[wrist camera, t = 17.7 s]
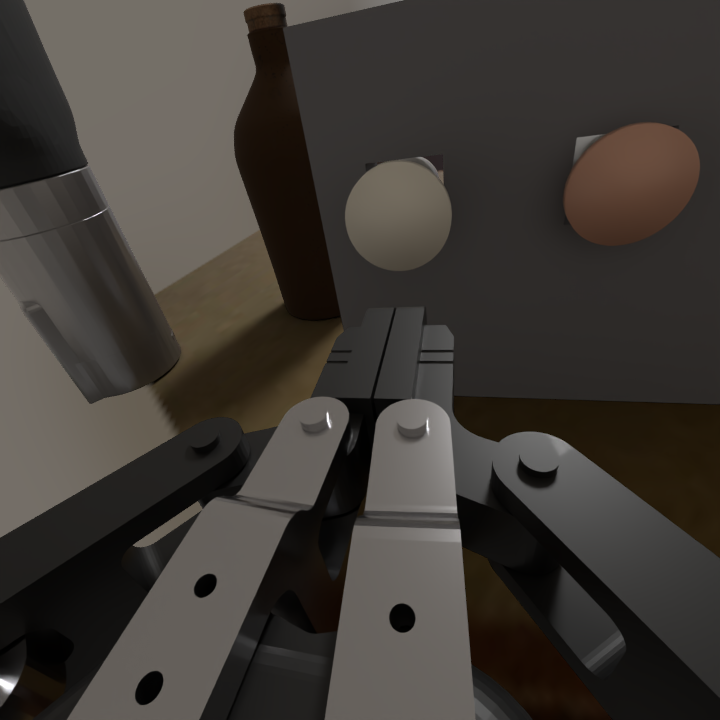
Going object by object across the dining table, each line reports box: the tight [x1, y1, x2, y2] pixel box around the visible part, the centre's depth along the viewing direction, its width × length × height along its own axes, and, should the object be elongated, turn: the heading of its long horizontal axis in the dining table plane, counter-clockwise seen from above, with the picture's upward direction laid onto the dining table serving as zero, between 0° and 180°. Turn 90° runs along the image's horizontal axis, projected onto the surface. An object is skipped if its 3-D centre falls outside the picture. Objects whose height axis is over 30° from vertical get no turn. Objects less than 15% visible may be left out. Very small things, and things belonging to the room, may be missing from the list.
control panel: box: [283, 0, 720, 404], centre depth 23 cm, size 8×30×22 cm, turn 78°
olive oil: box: [234, 3, 341, 320], centre depth 37 cm, size 11×11×25 cm
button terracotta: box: [563, 122, 700, 246], centre depth 20 cm, size 7×5×5 cm
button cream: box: [345, 157, 452, 271], centre depth 21 cm, size 7×5×5 cm
